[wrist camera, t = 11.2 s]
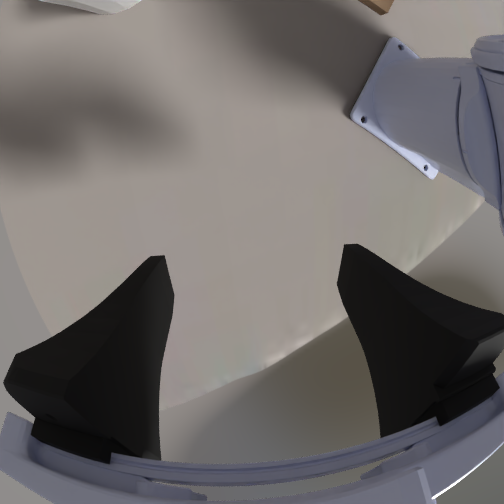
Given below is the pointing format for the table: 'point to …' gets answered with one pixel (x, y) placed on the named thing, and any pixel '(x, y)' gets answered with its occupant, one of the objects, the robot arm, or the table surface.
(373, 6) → the walnut board
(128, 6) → the white cup
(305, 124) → the table surface
